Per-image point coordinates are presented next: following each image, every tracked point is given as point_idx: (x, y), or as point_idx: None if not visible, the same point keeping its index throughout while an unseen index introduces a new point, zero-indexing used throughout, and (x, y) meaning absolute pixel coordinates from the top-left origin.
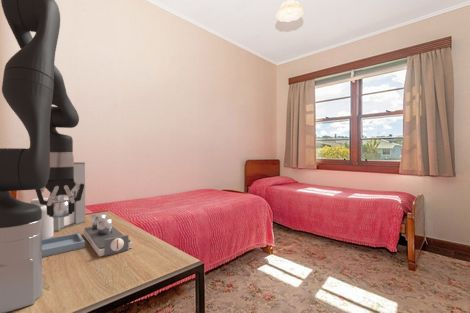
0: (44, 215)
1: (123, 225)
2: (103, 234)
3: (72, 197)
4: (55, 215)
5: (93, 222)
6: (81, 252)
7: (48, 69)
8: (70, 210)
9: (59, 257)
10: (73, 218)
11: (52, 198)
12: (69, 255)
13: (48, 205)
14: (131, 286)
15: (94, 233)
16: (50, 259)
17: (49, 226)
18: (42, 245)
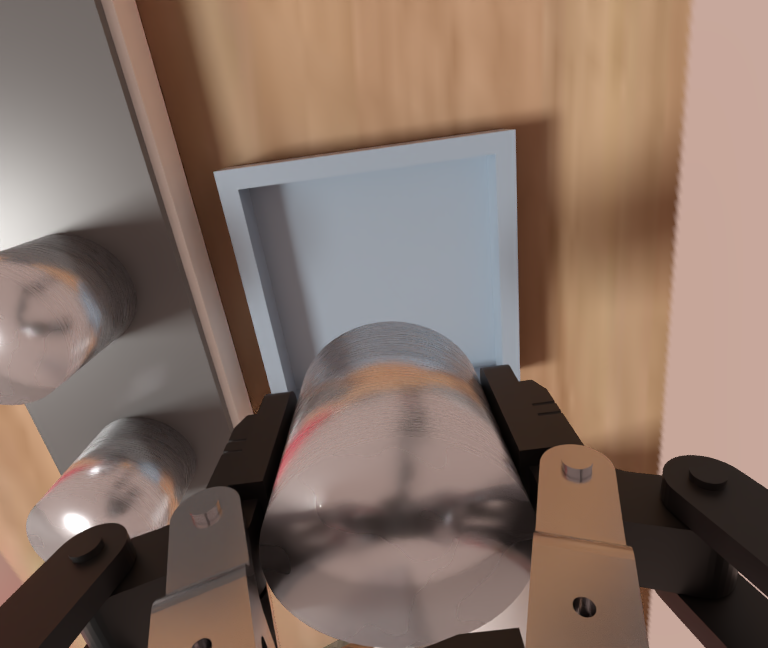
0: (520, 620)
1: (21, 522)
2: (74, 237)
3: (178, 579)
4: (448, 348)
5: (159, 472)
6: (244, 70)
7: None
8: (277, 412)
9: (384, 51)
10: None
11: (568, 538)
12: (322, 52)
13: (577, 449)
14: None
15: (160, 325)
16: (439, 45)
17: None
18: (488, 347)
